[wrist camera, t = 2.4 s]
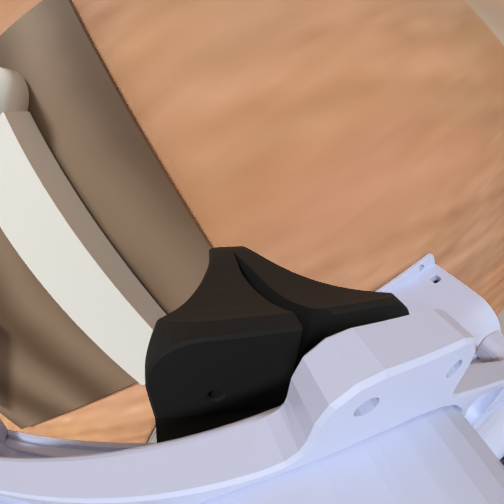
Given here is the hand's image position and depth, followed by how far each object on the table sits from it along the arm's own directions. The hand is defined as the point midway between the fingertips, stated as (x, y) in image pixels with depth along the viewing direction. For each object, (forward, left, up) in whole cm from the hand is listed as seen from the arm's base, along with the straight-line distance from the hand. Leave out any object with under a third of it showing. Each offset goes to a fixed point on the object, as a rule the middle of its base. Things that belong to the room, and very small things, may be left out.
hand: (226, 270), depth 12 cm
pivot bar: (+6, -5, -3) cm, 8 cm away
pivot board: (+13, -5, -4) cm, 15 cm away
